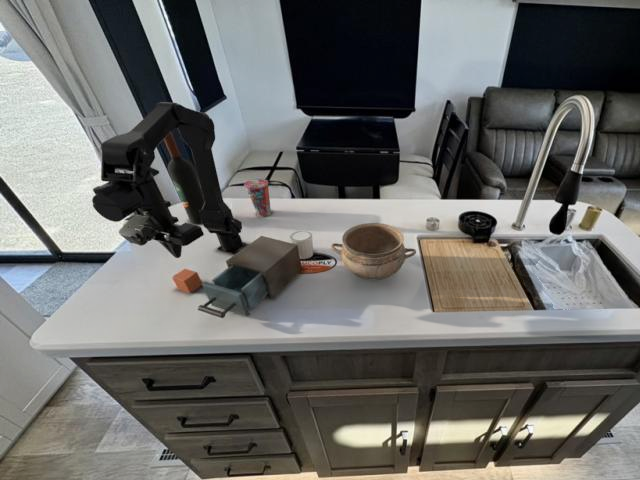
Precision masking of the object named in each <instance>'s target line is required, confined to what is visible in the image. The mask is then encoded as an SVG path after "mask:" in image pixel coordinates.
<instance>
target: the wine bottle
mask: <svg viewBox="0 0 640 480" xmlns="http://www.w3.org/2000/svg"><path fill="white" fill-rule="evenodd" d="M163 141H164V143H165V146H166V148H167V151H168V153H169V155H170V158H171V159H170V161H169V162H168V163H167V171H168V173H169V176H170V178H171V180H172V183H173V185H174V187H175V189H176V192H177V194H178V197H179V199H180V201H181V204H182V206H183V208H184V211H185V213H186V215H187V217H188V219H189V221H190V224H193V225H203V223H201V217H200V214H199V210H201V209H202V208H203V205H204V198H203V194H202V190H201V187H200V183H199V179H198V175H197V171H196V169H195V166H193V165H194V164H193V163H191V162H190V161H189V160H187V159H185V158H183V157H182V155H181V152H180V150H179V148H178V145H177V143H176V140H175V138H174V135H173V133H172V131H171V132H170V133H169V134H168V135H167V136H166V137H165V138H164V140H163Z"/></svg>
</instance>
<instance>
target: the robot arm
mask: <svg viewBox="0 0 640 480" xmlns="http://www.w3.org/2000/svg"><path fill="white" fill-rule="evenodd" d="M174 129H177V130H178V133H179V135H180V138H181V140H182V141H183V142H184V143H185V144H186V145H187V146H188V148H189V149H190V150H191V155H192V159H193V162H194V168H195V172H196V175H197V178H198V180H199V183H200V187H201V190H202V194H203V198H204V205H203V208H202V209H201V210H199V214H200V217H201V223H203V224H202V225H203V227H204V228H205V229H206V230H207V231H208V232H209V234H215V235H216V237H217V240H218V242H219V247H217V251H221V252H223V253H228V254H231V255H235V254H236V253H238V252H239V251H241V250H242V249H243V248H245V247H246V246H247V243H246V242H243V240H242V237H241V235H240V234H241V233H242V230H243V223H242V221H240V220H239V219H237V218H234V215H233V212H232V209H231V208H230V207H229V206H228V205H227V204H226V203H225V201H224V198H223V194H222V190H221V186H220V180H219V176H218V171H217V167H216V162H215V159H214V155H213V146H214V143H215V141H216V132H215V123H214V121H213V119H212V117H210V116H209V114H207V113H206V112H201V111H197V110H194V109H192V108H189V107H188V108H187V107H185V106H183V105H181V104H179V103H178V102H170V101H160V102H158V103H156V104H155V107H154V109H152V110H151V111H150V112H149V113H148V114H147V115H146V116H145V117H144V118H143V119H141V121H140V122H138V123H137V124H136V125H135V126H134V127H133V128H132V129H131V130H130V131H128V132H126V133H122V134H118V135H114V136H113V137H110V138H109V139H107V140H104V141H103V142H102V143H101V145H100V147H99V150H100V180H101V181H102V182H106V183H104V184H102V185H97V186H96V187H94V188H92V192H93V193H94V195H93V196H92V199H91V201H92V207H93V209H94V210H95V212H96V213H98V214H99V215H100V216H101V217H103V218H104V219H106V220H108V221H110V222H115V223H117V222H121V221H123V223H122V225H123V226H122V227H121V228H120V229H119V230H118V235H120V236H121V237H123V239H125V240H127V242H128V243H130V244H135V245H138V246H140V247H142V246H145V245H147V243H148V242H151V241H156V242H158V243H159V244H160V245H161V246H163V248H165V249H166V250H167V252H169V253H170V254H171V255H172V256H173V257H174V258H175V259H179V258H181V257H182V251H183V250H182V249H183V247H186V246H189V245H190V244H192V243H194V242H195V241H197V240H198V239H200V238H201V237H203V236H205V234H204V231H203V228H202V226H200V225H198V224H193V223H189V222H184V223H182V224H179V223H178V222H180V220H179V218H178V217H177V216H173V215H172V212H171V210H170V207H171V206H172V203H171V201H170V200H166V199H165V198H164V196H163V193H162V192H161V190H160V188H159V186H158V183H157V181H156V179H155V178H154V177H155V176H157V175H159V174H160V170H158V169H156V168H153V167H152V165H153V163H154V161H155V159H156V154H155V150H156V148H157V147H158V146H159V145H160V144H161V143H162V142H163V141H164V138H165V137H166V136H167V135H168V134H169V133H170V132H171V133H172V131H173V130H174ZM116 171H122V172H116ZM128 172H129V173H128ZM130 172H131V173H130ZM132 214H133V215H132Z"/></svg>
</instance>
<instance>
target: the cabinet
mask: <svg viewBox="0 0 640 480" xmlns="http://www.w3.org/2000/svg"><path fill="white" fill-rule="evenodd" d="M301 260H302V259H300V255H299V250H298V245H296V244H292V242H288V241H284V240H280V239H276V238H272V237H269V236H265V235H260V236H259V237H258V238H256V239H255V240H253V241H252V242H250V243H249V244H248V245H245V246H244V247H243V248H241V249H240V250H238V251H237V252H236V253H234V254H233V255H232V256H230V258H228V259H227V260H225V263H226V266H227V268H228V267H230V266H231V265H233V266H237V267H240V268H244V269H248V270H251V271H255V272H258V273H262V274H263V275H264V279H265V282H266V285H267V288H268V292H269V293H268V294H267V295H266V296H265V298H268V299H269V298H270V299H272V300H273V299H274V298H275V297H276V296H277V295H278V294H279V293H280V292H282V291H283V289H284V288H285V287H286V286H288V285H289V284H290V283H291V282H292V281H293V280H295V278H296V277H297V276H298V275H299V274H300V273H301V272H302V271H303V265H302V262H301Z"/></svg>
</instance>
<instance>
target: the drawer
mask: <svg viewBox="0 0 640 480" xmlns="http://www.w3.org/2000/svg"><path fill="white" fill-rule="evenodd" d="M211 281H212V283H211V282H208V281H204V282H202V285H201V286H202V289H203V291H204V292H205V294H206V296H207V298H208V301H206V302H205V303H204V304H203V305H202V304H200V305H199V306H198V307H197V310H198V311H200V312H202V313H205V314H208V315H211V316H214V317H218V318H220V319H224V318H225V317H226V314H227V313H228V312H230V313H233V314H235V315H238V316H242V317H245V318H248V317H249V316H250V315H251V313H250V310H252V309H253V308H255V307H256V306H257V305H258V304H259V303H260V302H261V301H262V300H263V299H264V298H266V295H267V294H268V293H269V292H268V288H267V285H266V282H265V279H264V275H263V274H262V273H258V272H255V271H251V270H248V269H244V268H240V267H237V266H233V265H231V266H230V267H228V266H227V268H226V269H224V270H223V271H221V272H220V273H219V274H218V275H216V276H215V277H213V278H212V279H211ZM210 305H211V306H212V307H213V308H212V307H208V306H210ZM214 308H218V309H220V310H218V309H214ZM221 310H223V311H221Z"/></svg>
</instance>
